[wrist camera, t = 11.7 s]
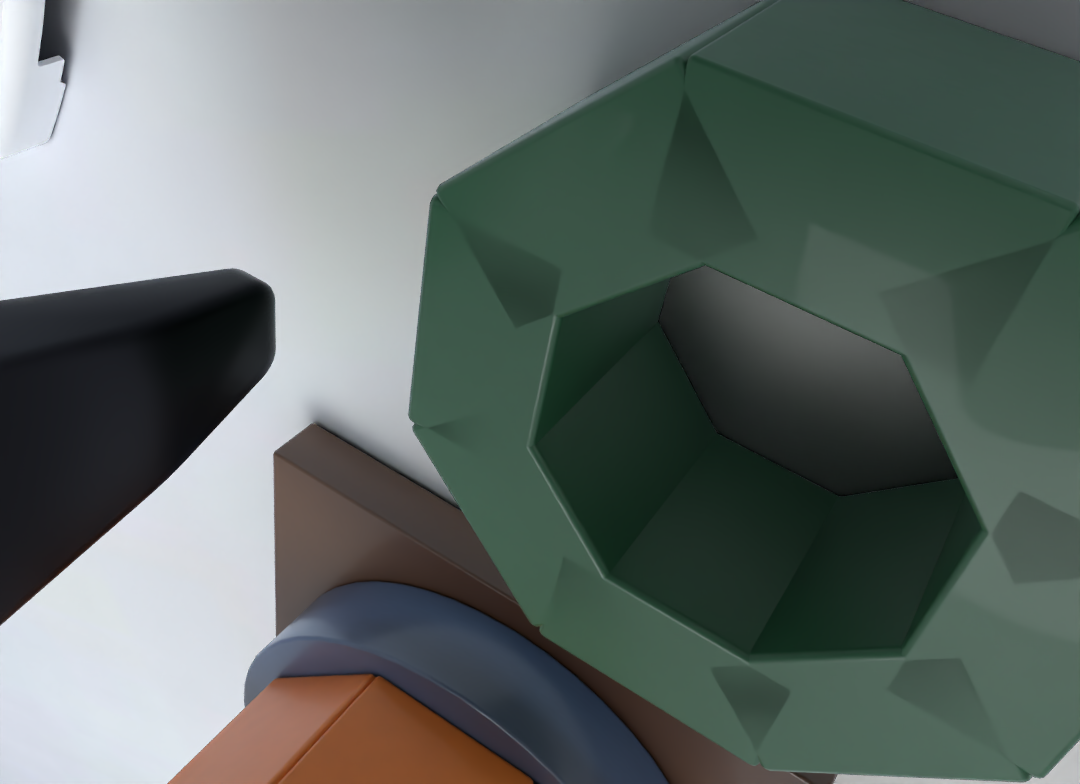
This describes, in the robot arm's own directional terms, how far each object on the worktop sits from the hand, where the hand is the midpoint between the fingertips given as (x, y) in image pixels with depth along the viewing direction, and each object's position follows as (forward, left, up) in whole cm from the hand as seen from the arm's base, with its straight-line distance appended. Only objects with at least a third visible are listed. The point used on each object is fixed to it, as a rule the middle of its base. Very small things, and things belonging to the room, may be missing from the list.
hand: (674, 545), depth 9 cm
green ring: (0, 0, -4) cm, 4 cm away
